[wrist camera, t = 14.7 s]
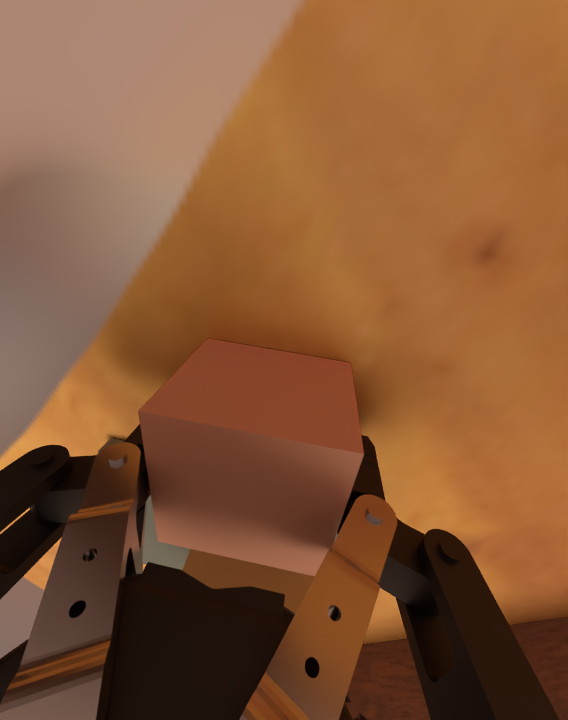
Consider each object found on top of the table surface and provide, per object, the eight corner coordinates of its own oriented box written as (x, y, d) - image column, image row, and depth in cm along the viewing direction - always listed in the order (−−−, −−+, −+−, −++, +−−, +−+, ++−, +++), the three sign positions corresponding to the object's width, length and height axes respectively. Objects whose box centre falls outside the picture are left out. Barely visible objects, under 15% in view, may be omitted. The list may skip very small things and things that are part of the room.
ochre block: (210, 501, 15) (162, 618, 11) (320, 526, 15) (317, 657, 11) (208, 562, 18) (169, 674, 14) (301, 584, 18) (292, 707, 13)
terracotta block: (207, 338, 12) (138, 411, 8) (350, 362, 12) (364, 454, 7) (208, 443, 15) (157, 541, 10) (323, 466, 14) (321, 577, 10)
